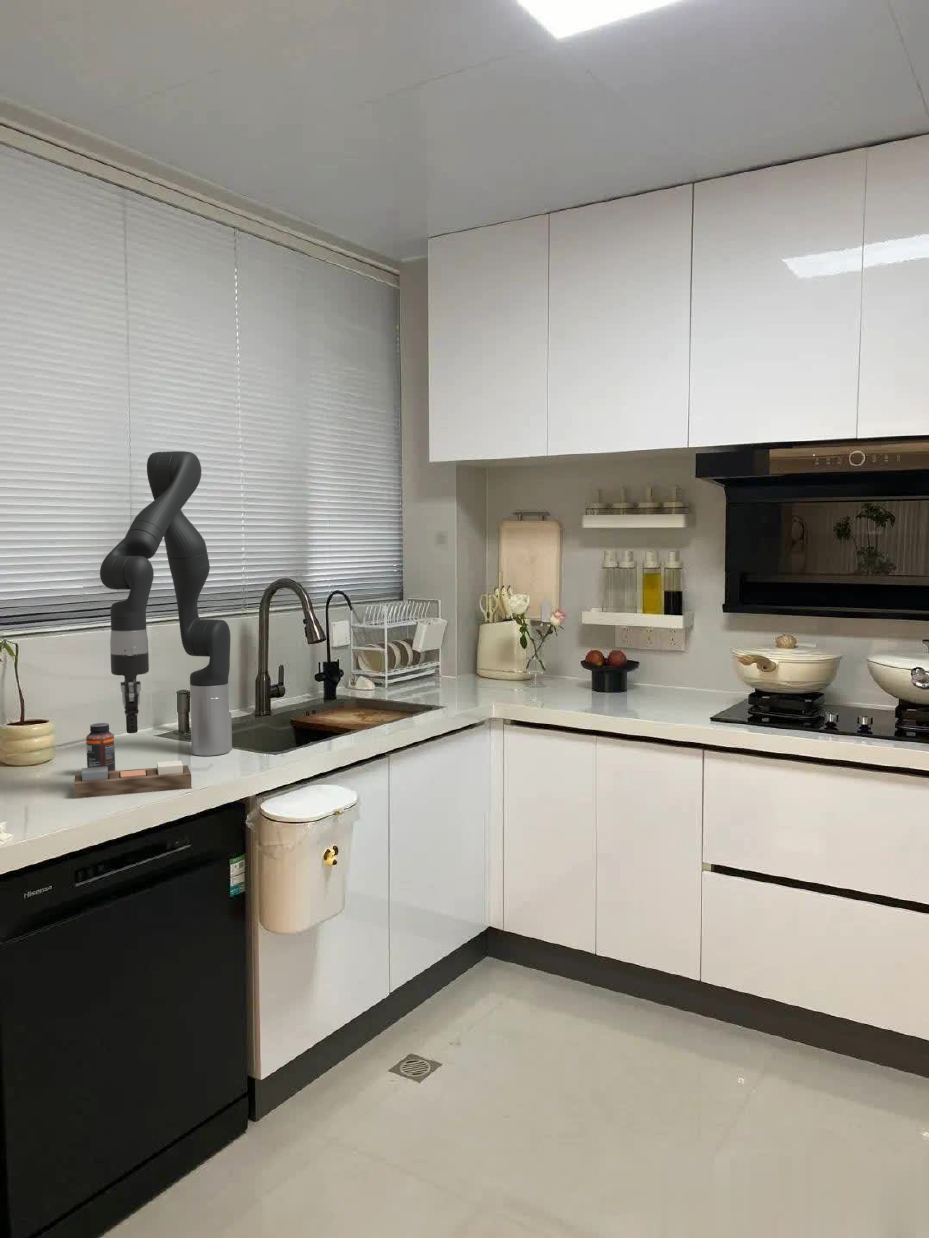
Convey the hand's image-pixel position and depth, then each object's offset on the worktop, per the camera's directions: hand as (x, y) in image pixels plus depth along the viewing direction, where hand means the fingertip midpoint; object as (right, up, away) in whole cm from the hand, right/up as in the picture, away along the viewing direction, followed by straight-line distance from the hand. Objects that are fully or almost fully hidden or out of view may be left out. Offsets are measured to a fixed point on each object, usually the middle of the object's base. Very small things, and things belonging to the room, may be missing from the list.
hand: (132, 732), depth 200 cm
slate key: (-7, -10, -2) cm, 12 cm away
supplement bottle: (-12, -11, +14) cm, 21 cm away
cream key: (+7, -9, +3) cm, 12 cm away
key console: (0, -12, +1) cm, 12 cm away
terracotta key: (0, -11, +1) cm, 11 cm away
